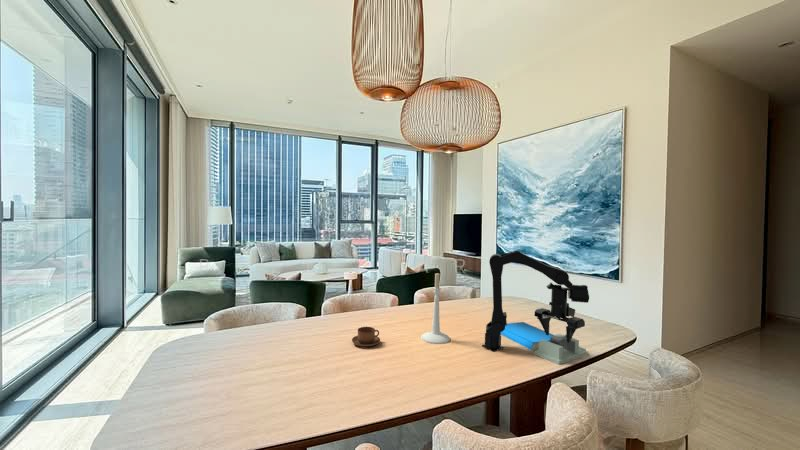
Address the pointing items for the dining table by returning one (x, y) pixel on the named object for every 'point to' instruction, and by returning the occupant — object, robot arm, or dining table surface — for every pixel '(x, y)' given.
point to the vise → (557, 352)
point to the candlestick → (436, 320)
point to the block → (557, 340)
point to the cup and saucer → (366, 337)
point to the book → (525, 334)
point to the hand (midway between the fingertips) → (557, 338)
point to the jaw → (570, 344)
